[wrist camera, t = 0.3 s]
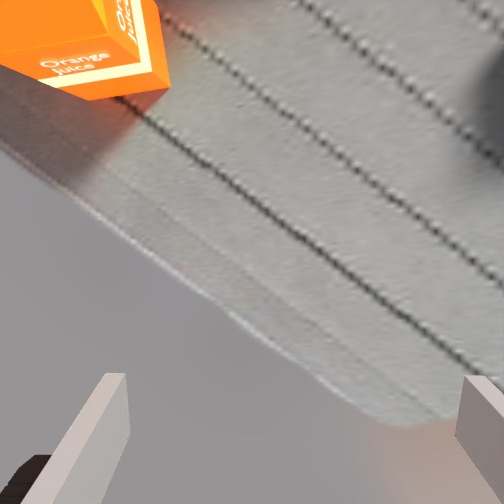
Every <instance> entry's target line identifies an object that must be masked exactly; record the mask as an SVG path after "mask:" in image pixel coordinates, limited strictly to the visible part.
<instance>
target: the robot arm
mask: <svg viewBox="0 0 504 504" xmlns="http://www.w3.org/2000/svg"><path fill="white" fill-rule="evenodd" d="M129 436H130V423H129V411H128V400H127V388H126V377H125V373H105V375H104V376H103V378H102V379H101V381H100V382H99V384H98V385H97V387H96V388H95V390H94V392H93V393H92V395H91V396H90V398H89V399H88V401H87V402H86V404H85V405H84V407H83V408H82V410H81V412H80V413H79V415H78V416H77V418H76V419H75V421H74V423H73V424H72V425H71V427H70V429H69V430H68V432H67V433H66V435H65V436H64V438H63V439H62V441H61V442H60V444H59V445H58V447H57V449H56V450H55V452H54V453H53V455H34V456H33V457H32V458H31V459H29V460H28V461H27V462H26V463H24V464H23V465H22V466H21V467H19V469H18V470H17V471H16V473H15V474H14V476H13V477H12V478H11V480H10V481H9V482H8V485H7V486H6V487H5V488H4V489H3V491H2V492H1V493H0V504H101V502H102V499H103V497H104V494H105V492H106V490H107V487H108V485H109V483H110V480H111V478H112V476H113V473H114V471H115V469H116V466H117V464H118V462H119V459H120V457H121V455H122V452H123V450H124V448H125V445H126V443H127V440H128V438H129ZM455 437H456V438H457V440H458V441H459V443H460V444H461V446H462V447H463V448H464V450H465V451H466V453H467V454H468V456H469V457H470V459H471V460H472V461H473V463H474V464H475V466H476V467H477V468H478V470H479V471H480V473H481V474H482V476H483V477H484V478H485V480H486V481H487V483H488V484H489V486H490V487H491V488H492V490H493V491H494V493H495V494H496V496H497V497H498V498H499V500H500V501H501V503H502V504H504V395H503V394H502V393H501V392H500V391H499V390H498V389H497V388H496V387H495V386H494V385H493V384H492V383H491V382H490V381H489V380H488V379H487V378H486V377H485V376H464V383H463V389H462V395H461V401H460V407H459V413H458V419H457V425H456V432H455Z"/></svg>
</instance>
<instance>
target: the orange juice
mask: <svg viewBox="0 0 504 504" xmlns="http://www.w3.org/2000/svg"><path fill="white" fill-rule="evenodd" d="M0 64H1V65H3V66H6V67H8V68H10V69H13V70H15V71H18V72H20V73H23V74H25V75H27V76H30V77H32V78H35V79H37V80H38V81H40V82H43V83H45V84H48V85H50V86H53V87H55V88H59V89H62V90H64V91H66V92H69V93H71V94H74V95H76V96H79V97H81V98H83V99H86V100H88V101H89V100H95V99H101V98H107V97H113V96H119V95H125V94H131V93H138V92H144V91H150V90H156V89H162V88H168V87H170V81H169V75H168V69H167V62H166V56H165V50H164V44H163V38H162V32H161V25H160V19H159V13H158V7H157V5H156V4H155V2H154V1H153V0H0Z"/></svg>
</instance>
